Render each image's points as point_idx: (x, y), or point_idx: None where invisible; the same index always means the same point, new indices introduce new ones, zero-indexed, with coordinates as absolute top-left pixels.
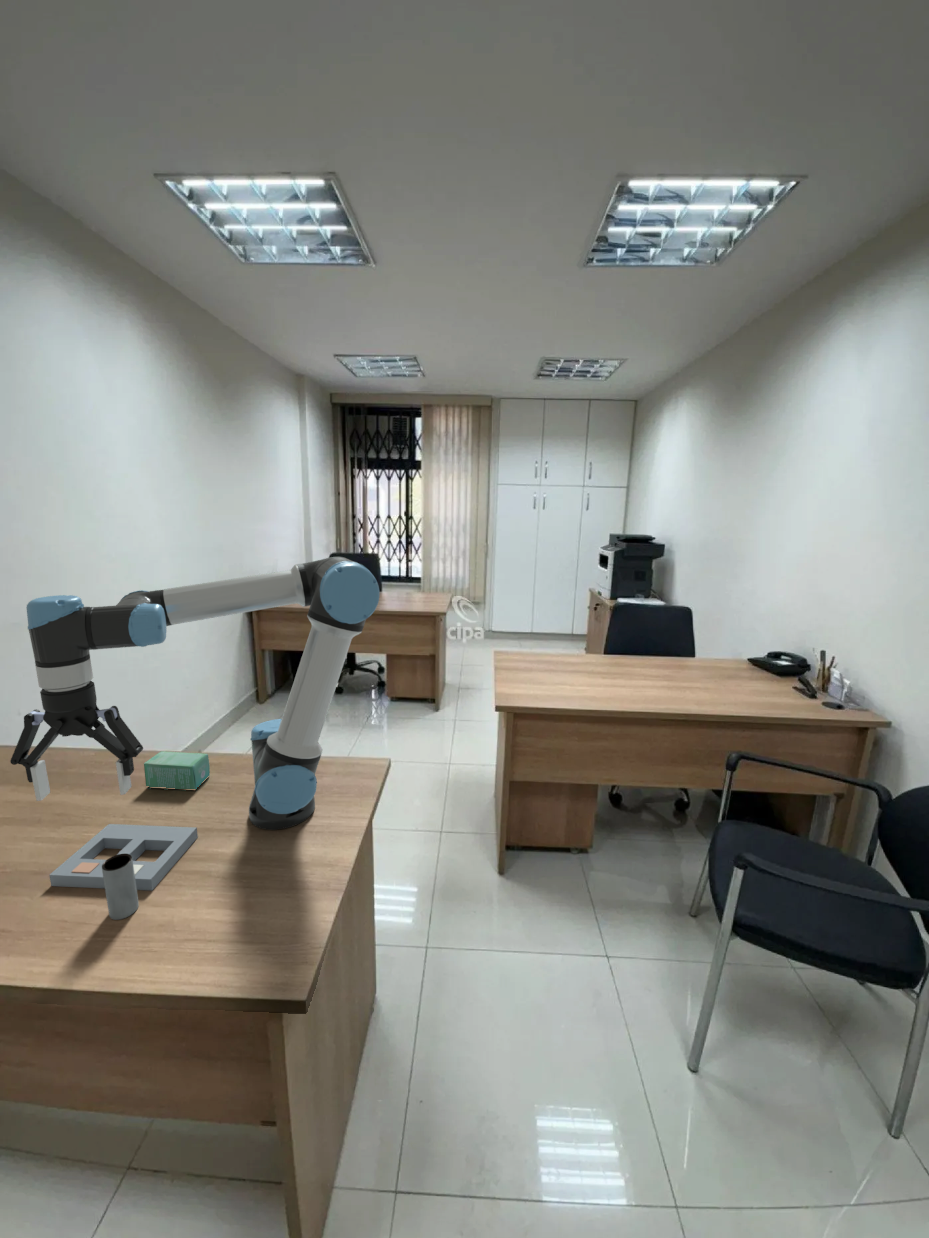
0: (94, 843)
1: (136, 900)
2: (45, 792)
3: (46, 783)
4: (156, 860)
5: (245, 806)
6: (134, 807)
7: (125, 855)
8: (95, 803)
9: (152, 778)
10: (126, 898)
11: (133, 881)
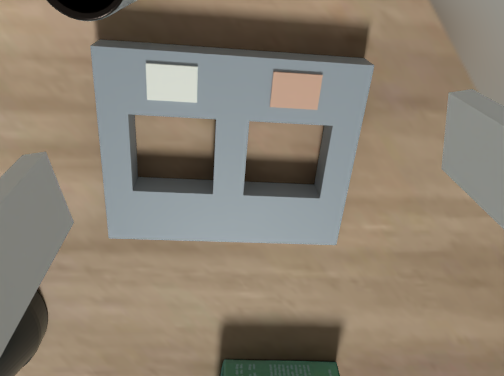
0: (329, 179)
1: None
2: (455, 143)
3: (476, 182)
4: (127, 119)
5: (72, 320)
6: (327, 308)
7: (79, 10)
8: (419, 316)
9: None
10: None
11: None
